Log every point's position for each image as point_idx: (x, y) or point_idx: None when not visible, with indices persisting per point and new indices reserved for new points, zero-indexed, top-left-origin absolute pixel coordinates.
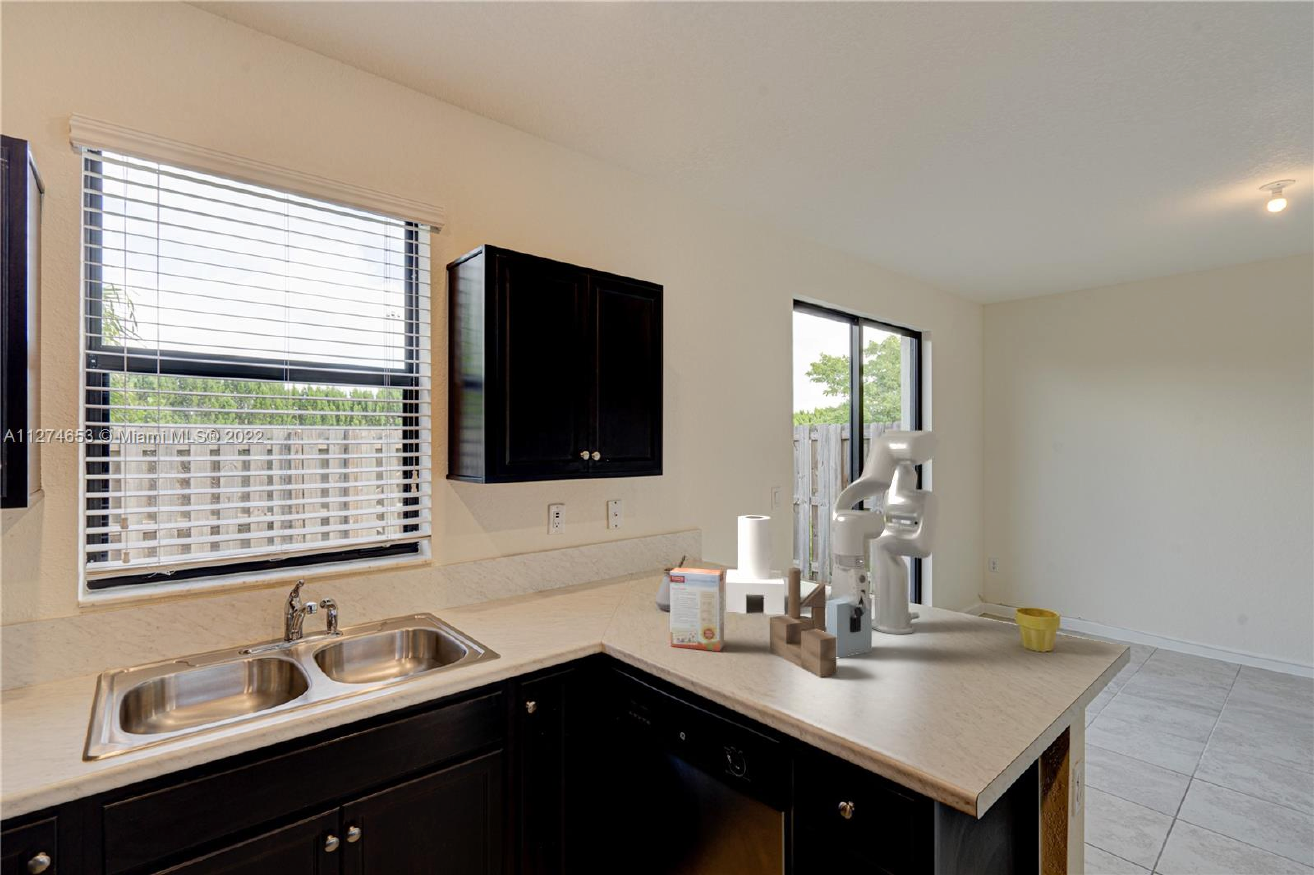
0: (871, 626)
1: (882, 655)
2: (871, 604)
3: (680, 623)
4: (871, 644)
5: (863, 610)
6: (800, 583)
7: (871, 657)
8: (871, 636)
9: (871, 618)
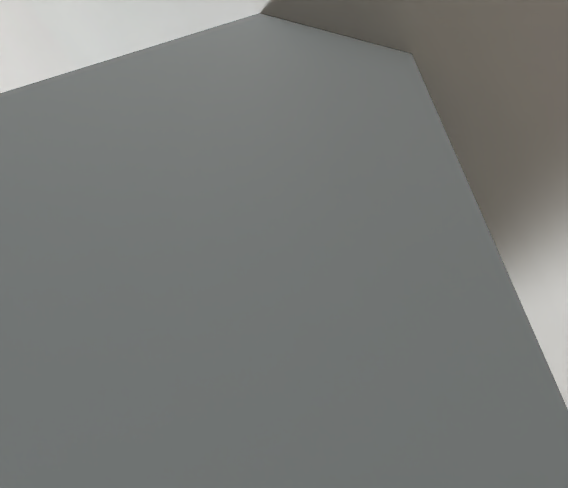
0: (435, 110)
1: (555, 82)
2: (565, 412)
3: None
4: (415, 63)
5: None
6: None
7: (488, 210)
8: (422, 79)
9: (458, 163)
